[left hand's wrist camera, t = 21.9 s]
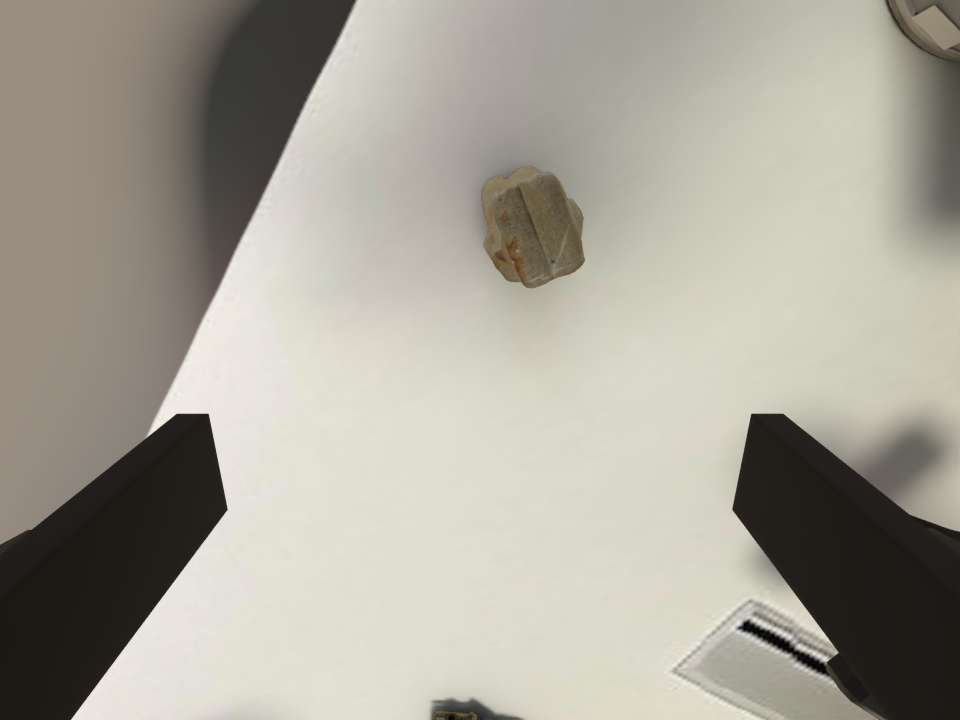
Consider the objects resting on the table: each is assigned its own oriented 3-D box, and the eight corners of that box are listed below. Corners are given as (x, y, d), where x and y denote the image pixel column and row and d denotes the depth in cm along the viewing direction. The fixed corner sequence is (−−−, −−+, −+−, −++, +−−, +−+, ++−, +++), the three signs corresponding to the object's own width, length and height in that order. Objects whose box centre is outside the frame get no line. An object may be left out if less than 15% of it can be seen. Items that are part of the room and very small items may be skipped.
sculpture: (547, 158, 37) (589, 149, 23) (572, 256, 39) (624, 303, 25) (469, 184, 37) (462, 191, 23) (498, 279, 40) (507, 338, 26)
